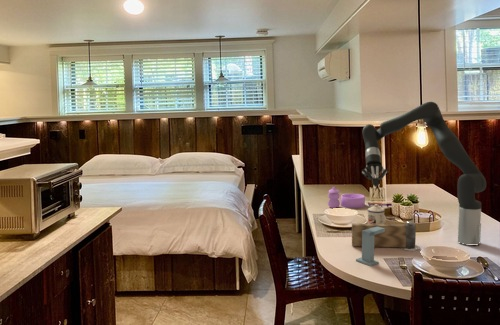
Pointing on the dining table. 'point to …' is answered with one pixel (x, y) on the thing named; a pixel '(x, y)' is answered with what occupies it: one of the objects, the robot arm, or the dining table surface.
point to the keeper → (369, 245)
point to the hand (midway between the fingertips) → (375, 185)
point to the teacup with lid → (376, 215)
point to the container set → (345, 199)
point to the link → (387, 235)
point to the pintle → (415, 245)
